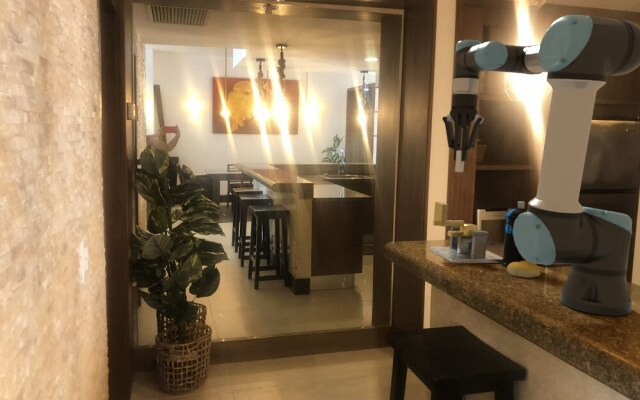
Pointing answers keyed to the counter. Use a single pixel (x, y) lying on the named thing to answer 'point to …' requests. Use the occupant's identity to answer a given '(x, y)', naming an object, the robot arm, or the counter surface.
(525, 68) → the robot arm
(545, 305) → the counter surface
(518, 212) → the aerosol can
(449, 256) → the socket base
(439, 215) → the gold branched bar piece
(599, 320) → the counter surface
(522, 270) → the bread roll
